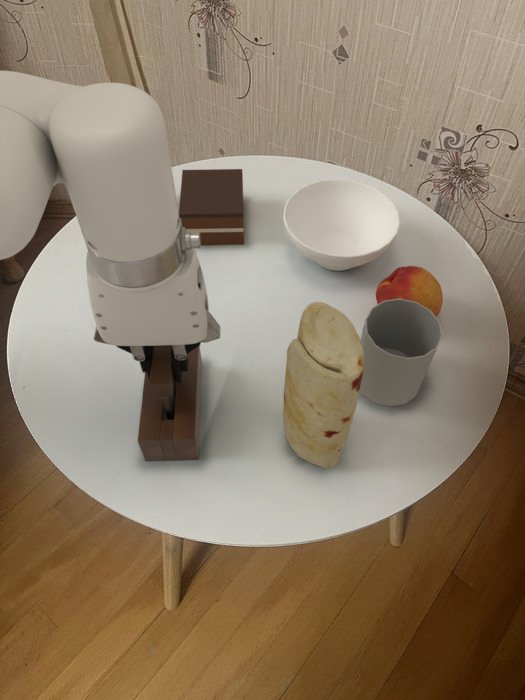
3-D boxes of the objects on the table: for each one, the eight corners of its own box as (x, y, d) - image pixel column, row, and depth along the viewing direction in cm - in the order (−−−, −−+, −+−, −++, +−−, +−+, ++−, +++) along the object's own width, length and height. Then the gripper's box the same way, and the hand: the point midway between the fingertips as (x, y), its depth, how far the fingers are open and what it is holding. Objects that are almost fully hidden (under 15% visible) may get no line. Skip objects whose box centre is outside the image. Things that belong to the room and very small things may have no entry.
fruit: (399, 283, 80) (412, 241, 73) (446, 316, 76) (464, 275, 70) (362, 312, 76) (372, 271, 70) (409, 348, 73) (424, 308, 66)
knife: (165, 440, 65) (149, 384, 55) (170, 381, 70) (155, 320, 60) (183, 439, 65) (169, 383, 55) (186, 381, 70) (174, 320, 60)
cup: (424, 358, 72) (445, 308, 64) (417, 413, 67) (438, 366, 59) (359, 344, 73) (371, 292, 65) (347, 396, 69) (359, 348, 61)
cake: (183, 245, 84) (178, 214, 79) (186, 201, 90) (182, 169, 85) (244, 244, 84) (243, 213, 79) (243, 200, 90) (242, 168, 85)
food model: (355, 465, 63) (389, 364, 47) (300, 483, 62) (315, 386, 46) (322, 395, 69) (342, 282, 53) (270, 410, 67) (274, 300, 51)
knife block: (145, 461, 64) (137, 441, 59) (154, 365, 71) (148, 342, 67) (198, 460, 64) (194, 439, 60) (202, 364, 71) (198, 341, 67)
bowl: (259, 254, 83) (259, 217, 77) (326, 202, 90) (331, 164, 84) (346, 311, 77) (353, 275, 71) (411, 250, 84) (423, 212, 78)
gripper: (234, 213, 48) (240, 342, 63) (46, 216, 48) (97, 345, 63) (234, 277, 44) (241, 400, 59) (28, 282, 43) (87, 404, 58)
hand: (167, 371), depth 61 cm, fingers closed on knife, 2 cm apart
